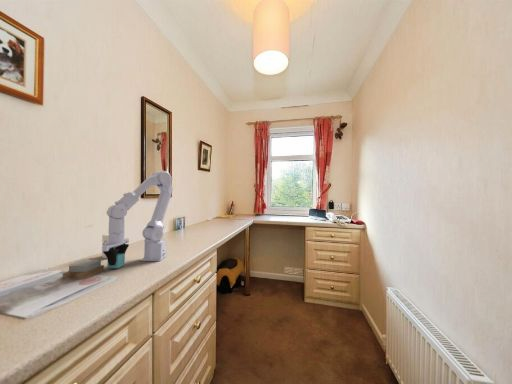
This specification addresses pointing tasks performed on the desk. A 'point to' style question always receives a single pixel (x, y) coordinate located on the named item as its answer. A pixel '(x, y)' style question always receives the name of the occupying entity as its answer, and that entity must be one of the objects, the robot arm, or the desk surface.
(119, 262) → the teal block
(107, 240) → the ink cartridge box
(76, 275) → the walnut slab
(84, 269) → the gray slab
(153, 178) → the robot arm
